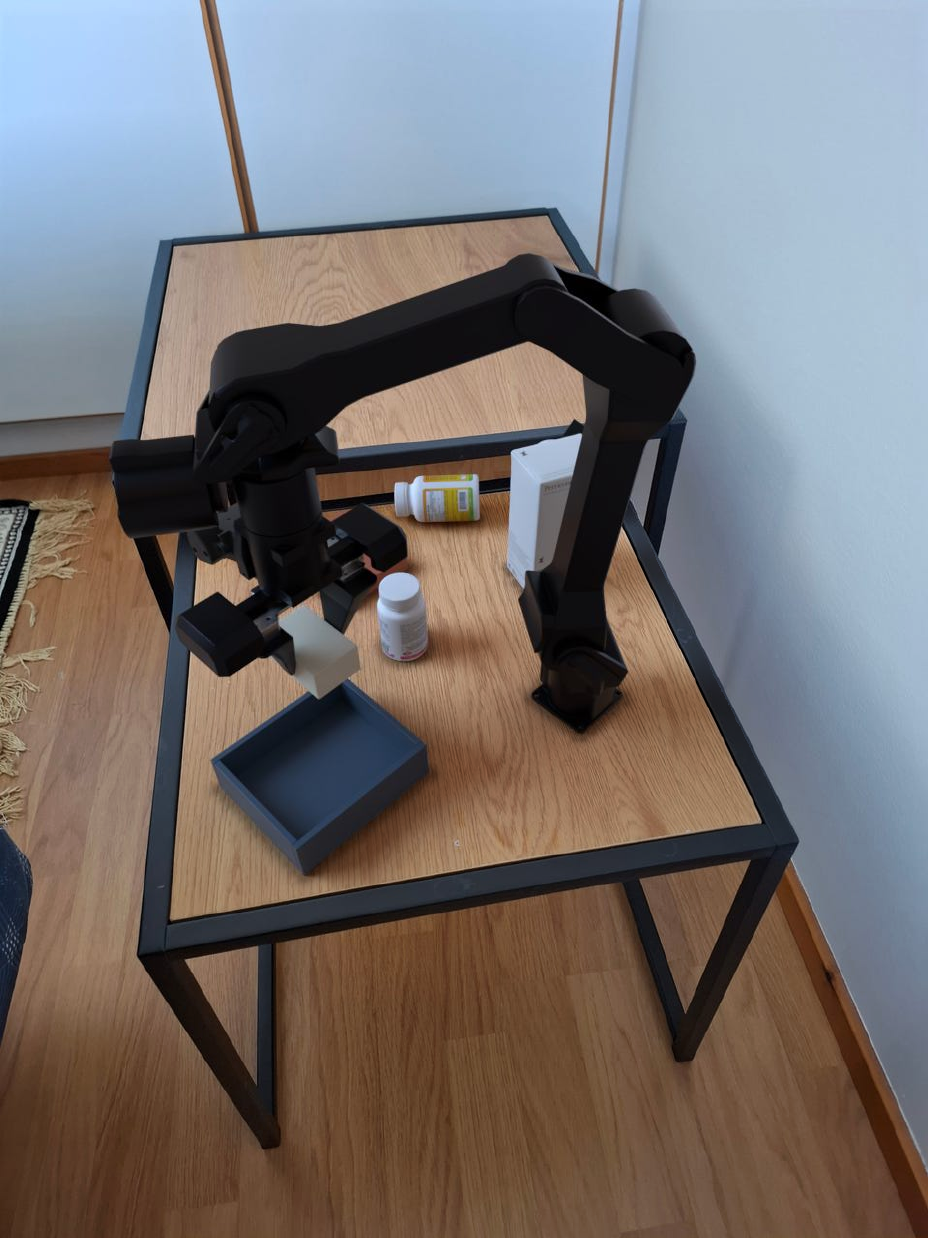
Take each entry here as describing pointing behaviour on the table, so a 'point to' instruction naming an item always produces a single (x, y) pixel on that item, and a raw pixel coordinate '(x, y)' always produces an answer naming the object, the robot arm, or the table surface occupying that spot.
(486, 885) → the table surface
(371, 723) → the box
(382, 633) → the pill bottle
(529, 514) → the cosmetic box
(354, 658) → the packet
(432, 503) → the supplement bottle
